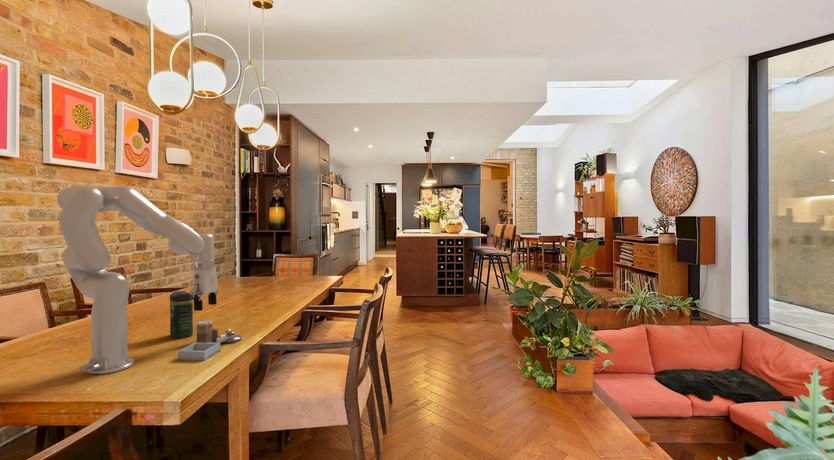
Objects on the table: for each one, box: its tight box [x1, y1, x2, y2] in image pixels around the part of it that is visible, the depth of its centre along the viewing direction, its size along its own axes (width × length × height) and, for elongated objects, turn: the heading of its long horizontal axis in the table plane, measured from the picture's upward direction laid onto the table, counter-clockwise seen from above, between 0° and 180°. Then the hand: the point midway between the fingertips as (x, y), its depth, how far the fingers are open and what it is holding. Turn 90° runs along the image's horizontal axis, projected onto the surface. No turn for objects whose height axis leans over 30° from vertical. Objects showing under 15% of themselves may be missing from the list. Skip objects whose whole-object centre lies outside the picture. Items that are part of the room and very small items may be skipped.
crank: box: [209, 327, 236, 344], centre depth 162 cm, size 12×4×6 cm, turn 166°
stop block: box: [195, 319, 213, 343], centre depth 165 cm, size 4×4×8 cm
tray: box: [177, 342, 221, 361], centre depth 149 cm, size 10×10×3 cm
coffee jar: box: [169, 290, 194, 339], centre depth 173 cm, size 10×8×19 cm
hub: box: [221, 334, 242, 344], centre depth 167 cm, size 8×8×1 cm
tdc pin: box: [224, 328, 232, 335], centre depth 172 cm, size 2×2×3 cm
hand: (205, 307), depth 165 cm, fingers open, 9 cm apart
